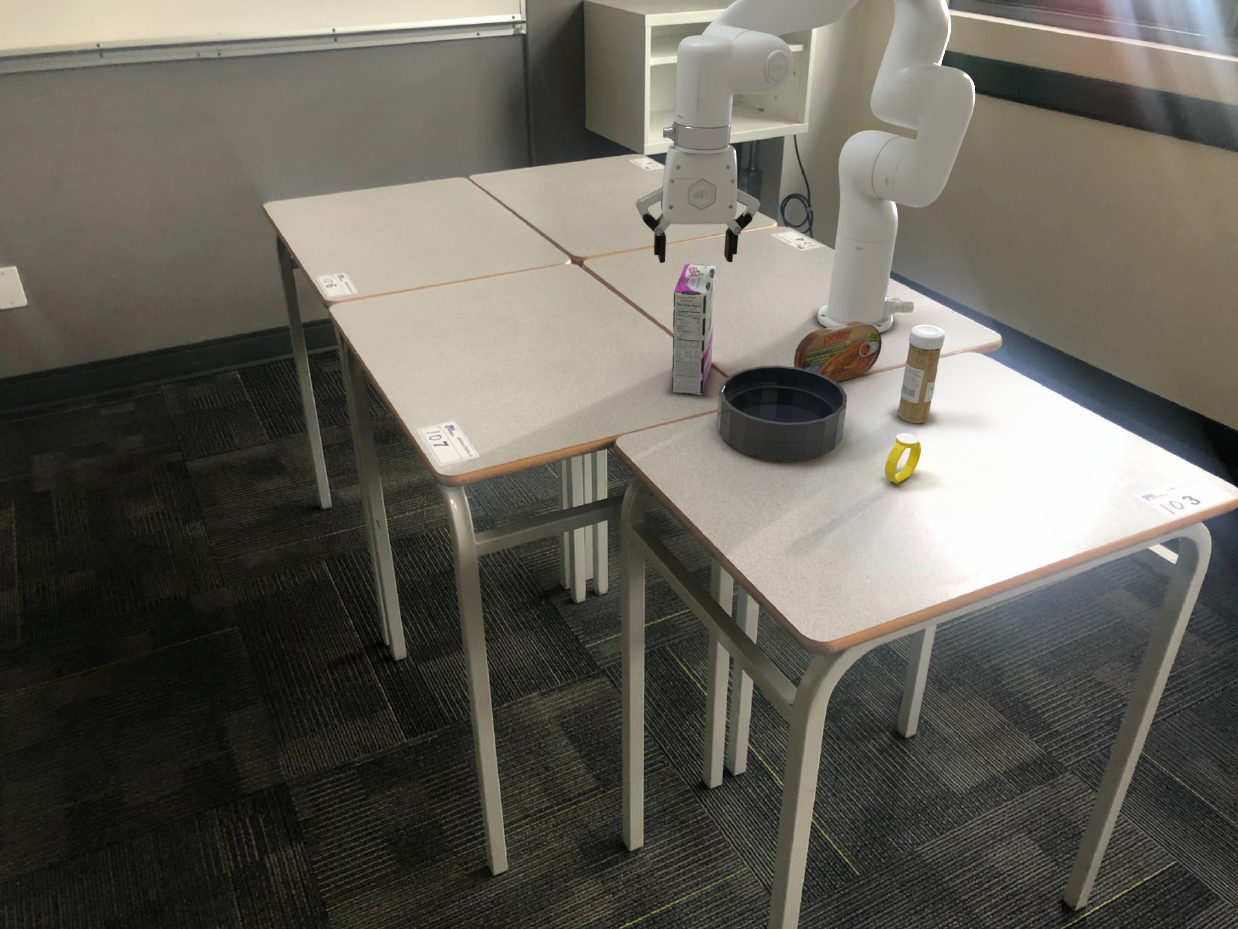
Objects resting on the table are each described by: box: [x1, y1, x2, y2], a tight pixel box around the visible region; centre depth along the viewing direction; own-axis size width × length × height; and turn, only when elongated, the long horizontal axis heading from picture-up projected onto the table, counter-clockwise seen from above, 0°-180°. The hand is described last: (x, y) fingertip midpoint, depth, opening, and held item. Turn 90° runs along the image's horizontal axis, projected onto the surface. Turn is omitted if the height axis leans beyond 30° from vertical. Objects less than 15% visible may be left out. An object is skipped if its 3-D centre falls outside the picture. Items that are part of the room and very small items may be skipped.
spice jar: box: [896, 324, 946, 424], centre depth 138 cm, size 5×5×13 cm
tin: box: [793, 321, 883, 383], centre depth 150 cm, size 15×3×8 cm, turn 117°
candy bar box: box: [671, 263, 717, 396], centre depth 148 cm, size 11×5×16 cm, turn 168°
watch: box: [884, 432, 922, 484], centre depth 126 cm, size 6×3×6 cm, turn 133°
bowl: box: [716, 365, 848, 462], centre depth 136 cm, size 17×17×6 cm
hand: (694, 259), depth 142 cm, fingers open, 9 cm apart
